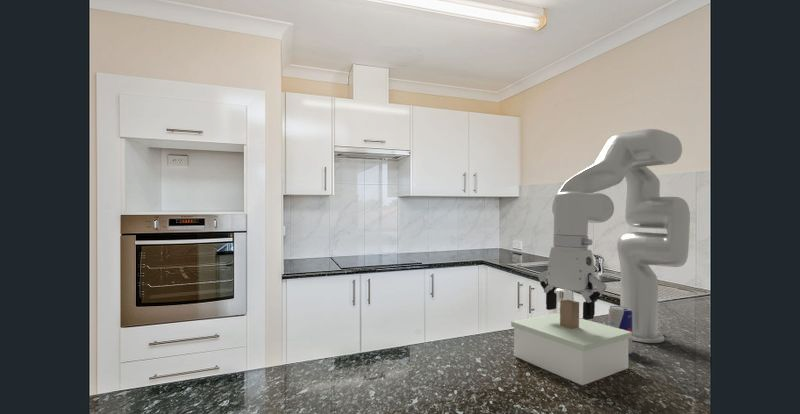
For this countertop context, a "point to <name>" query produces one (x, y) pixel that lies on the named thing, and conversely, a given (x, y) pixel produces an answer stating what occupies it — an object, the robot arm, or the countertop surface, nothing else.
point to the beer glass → (562, 298)
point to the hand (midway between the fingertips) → (568, 313)
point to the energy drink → (621, 321)
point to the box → (571, 357)
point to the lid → (571, 328)
